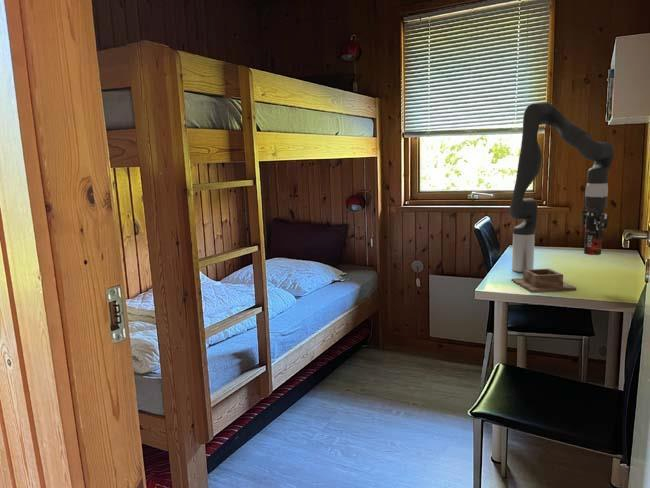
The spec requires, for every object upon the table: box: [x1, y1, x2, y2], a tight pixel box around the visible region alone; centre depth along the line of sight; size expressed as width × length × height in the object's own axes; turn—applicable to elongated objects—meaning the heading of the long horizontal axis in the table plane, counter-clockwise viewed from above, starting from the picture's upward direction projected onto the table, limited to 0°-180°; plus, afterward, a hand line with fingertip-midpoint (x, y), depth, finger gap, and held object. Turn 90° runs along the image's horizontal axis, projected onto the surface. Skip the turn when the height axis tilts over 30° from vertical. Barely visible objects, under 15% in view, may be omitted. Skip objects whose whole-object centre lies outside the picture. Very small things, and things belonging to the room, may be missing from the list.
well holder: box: [511, 268, 577, 293], centre depth 200 cm, size 18×18×6 cm
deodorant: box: [583, 215, 604, 256], centre depth 191 cm, size 6×6×15 cm
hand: (593, 238), depth 191 cm, fingers closed on deodorant, 6 cm apart
